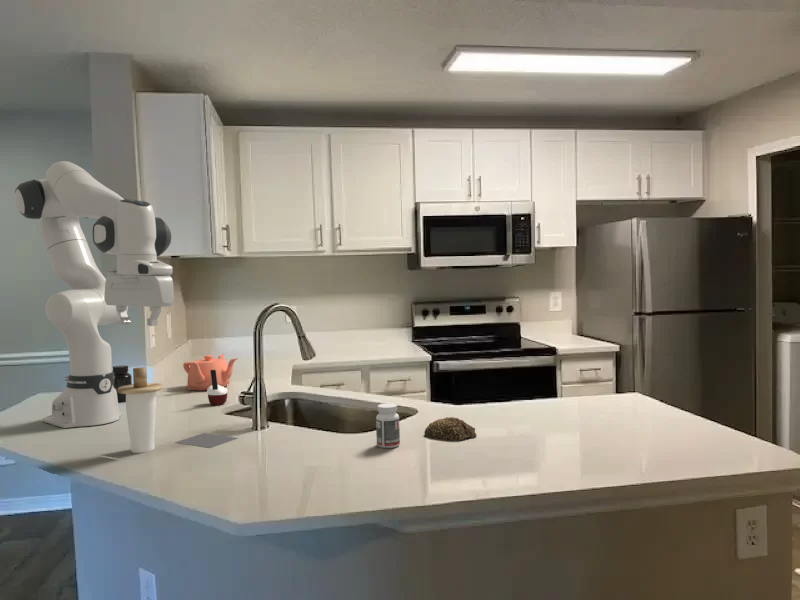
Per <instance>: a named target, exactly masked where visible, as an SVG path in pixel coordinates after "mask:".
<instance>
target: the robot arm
mask: <svg viewBox="0 0 800 600" xmlns="http://www.w3.org/2000/svg"><path fill="white" fill-rule="evenodd" d="M14 201H15V202H14V203H15V205H16V207H17V209H18V211H19V213H20V215H22V216H23V217H25V218H26V219H31V220H41V221H40V231H41V237H42V241H43V245H44V249H45V251H46V253H47V257H48V259H49V263H50V265H51V269H52V271H53V273H54V276H55V277H56V278H57V279H58V280H60V281H61V282H63V283H64V284H66V285H67V286H68V287H69V288H70V289H68V290H63V291H60V292H58V293H54V294H53V295H50V297H49V299H48V300H47V301H46V304H45V315H46V317H47V319H48V321H49V323H51V324H52V325H53V326H55V327H56V329H58V331H60V333H61V334H62V336H63V338H64V339H65V340H64V341H65V342H66V345H67V349H68V357H69V371H70V372H69V373H70V374H69V375H68V376H65V377H64V379H65V380H64V381H66V386H65V387H66V388H65V389H64V390H63V391H62V392H61V393H60V394H59V395H58V396H56V397H55V399H53V401H52V403H51V414H50V415H47V416H44V417H43V419H42V422H43V423H48V424H49V425H53V426H56V427H59V428H62V429H67V428H69V429H70V428H75V427H77V428H78V427H88V426H89V427H90V426H98V425H99V426H100V425H104V424H109V423H112V422H116V421H118V420H120V418H121V416H122V415H123V412H122V411H121V410H120V408H119V403H118V399H117V392H116V389H115V388H114V387H113V384H114V372H113V363H112V362H113V359H112V358H113V356H112V355H113V354H112V347H111V345H110V343H109V342H107V341H106V340H104V339H103V338H102V337H101V335H100V333H99V329H98V326H105V325H111V324H113V323H117V322H119V323H120V325H130V324H131V317H130V316H129V315H128V310H129V307H149V312H151V313H150V315H149V317H148V318H146V320H147V321H146V322H147V324H146V325H147V326H148V327H157V326H158V321H159V320H158V318H159V316H160V314H161V312H162V308H166V307H171V306H172V304H173V303H174V298H175V296H174V295H175V294H174V293H175V292H174V282H173V281H174V280H173V278H172V276H171V275H172V274H173V272H174V271H173V266H172V265H170V264H167V263H166V262H163V261H162V260H159V259H157V258H158V257H160V256H161V255H162V254H164V253H165V252H166V251H167V250H168V248H169V246H170V245H171V244H172V243H171V242H172V232H171V229H170V227H169V226H168V225H167V223H166V221H164V220H163V219H162V218H161V217H158V216H157V217H156V216H155V211H154V207H153V205H152V204H151V203H149V202H147V201H144V200H138V199H137V200H136V199H129V198H128V199H127V198H126V197H124V196H122V195H120V194H119V193H117V192H115V191H114V190H112V189H111V188H108V187H107V186H105V185H104V184H103V183H101V182H100V181H98V180H97V179H96V178H95V177H93V176H92V175H91V174H90V173H89V172H87V170H86V169H84V168H82V167H81V166H79V165H77V164H75V163H74V162H71V161H68V160H62V161H60V160H59V161H57V162H54V163H52V164H51V165H50V166H49V167H48V169H47V170H46V173H45V178H44V179H31V180H28V181H24V182H21V183H19V185H18V186H17V187H16V188H15V190H14ZM81 217H82V218H84V219H90V218H91V219H96V221H95V223H94V224H93V225H92V241H93V244H94V246H95V247H96V248H97V249H98V250H99V251H100V252H102V253H103V254H109V255H116V267H111V269H110V270H109V271H108V272H107V275H106V276H107V277H105V276H104V275H103V274H102V272H101V271H100V269H99V268H98V266H97V264H96V261H95V260H94V256H93V255H92V251H91V249H90V246H89V243H88V241H87V239H86V235H85V234H84V231H83V229H82V227H81V225H80V224H81V223H80V218H81Z"/></svg>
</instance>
